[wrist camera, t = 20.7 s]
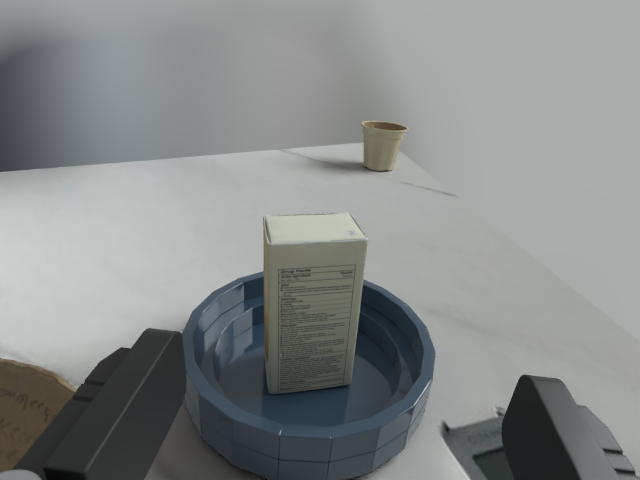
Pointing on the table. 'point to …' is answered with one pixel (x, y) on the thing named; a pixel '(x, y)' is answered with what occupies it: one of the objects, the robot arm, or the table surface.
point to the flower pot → (382, 144)
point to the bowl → (27, 407)
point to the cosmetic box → (311, 299)
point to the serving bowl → (305, 406)
